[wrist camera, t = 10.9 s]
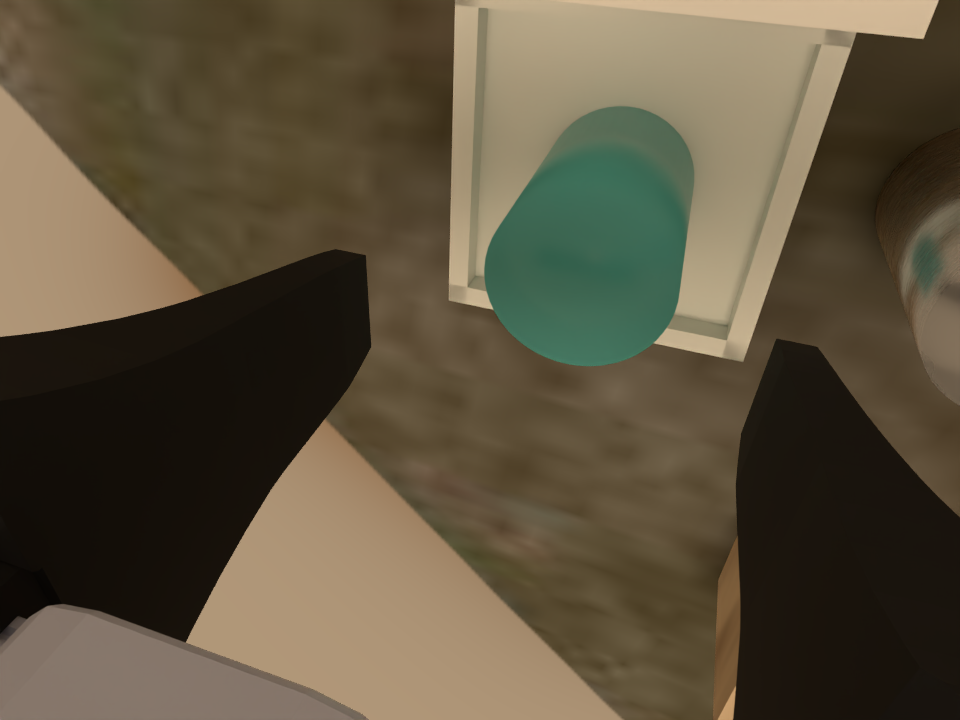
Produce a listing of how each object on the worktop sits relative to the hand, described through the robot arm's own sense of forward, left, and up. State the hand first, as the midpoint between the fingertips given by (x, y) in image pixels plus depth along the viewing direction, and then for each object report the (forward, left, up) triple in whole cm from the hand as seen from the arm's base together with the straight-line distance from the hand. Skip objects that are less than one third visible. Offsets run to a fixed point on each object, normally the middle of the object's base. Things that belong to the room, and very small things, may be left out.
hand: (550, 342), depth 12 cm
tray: (0, 0, -9) cm, 9 cm away
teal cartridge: (0, 0, -8) cm, 8 cm away
